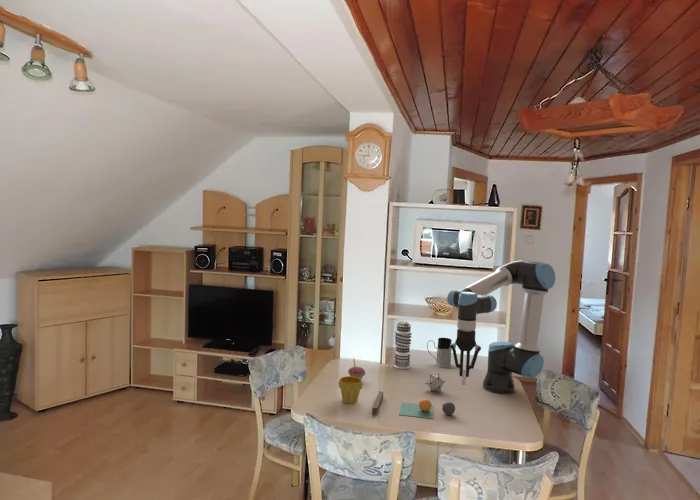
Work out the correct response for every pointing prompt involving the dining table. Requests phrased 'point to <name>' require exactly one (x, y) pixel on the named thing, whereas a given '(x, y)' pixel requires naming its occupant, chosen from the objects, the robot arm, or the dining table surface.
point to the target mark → (415, 411)
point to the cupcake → (356, 371)
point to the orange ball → (425, 405)
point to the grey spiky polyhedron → (435, 382)
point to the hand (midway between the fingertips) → (463, 383)
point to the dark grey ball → (448, 408)
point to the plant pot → (350, 388)
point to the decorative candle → (402, 345)
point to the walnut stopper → (377, 403)
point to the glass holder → (443, 352)
